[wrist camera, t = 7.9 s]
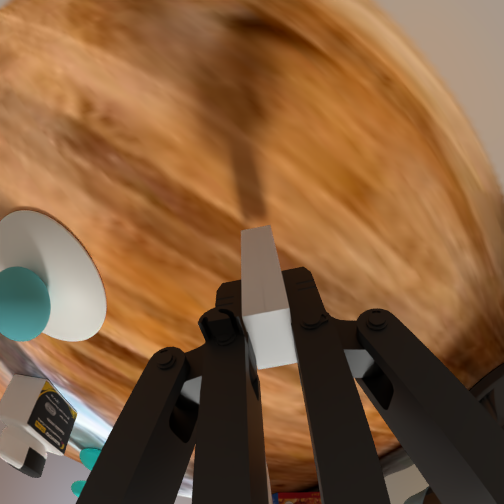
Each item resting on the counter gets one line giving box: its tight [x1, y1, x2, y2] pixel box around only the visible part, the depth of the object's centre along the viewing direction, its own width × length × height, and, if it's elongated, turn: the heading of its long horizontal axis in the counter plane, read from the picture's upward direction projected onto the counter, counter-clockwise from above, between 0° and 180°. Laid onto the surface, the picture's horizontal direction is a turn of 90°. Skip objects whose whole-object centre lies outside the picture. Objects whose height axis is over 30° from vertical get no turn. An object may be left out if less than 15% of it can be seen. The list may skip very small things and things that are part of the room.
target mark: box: [0, 210, 107, 341], centre depth 18 cm, size 12×12×1 cm
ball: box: [0, 266, 51, 341], centre depth 15 cm, size 6×6×6 cm
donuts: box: [71, 448, 101, 497], centre depth 31 cm, size 10×10×10 cm
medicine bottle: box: [0, 374, 77, 478], centre depth 20 cm, size 7×7×12 cm
